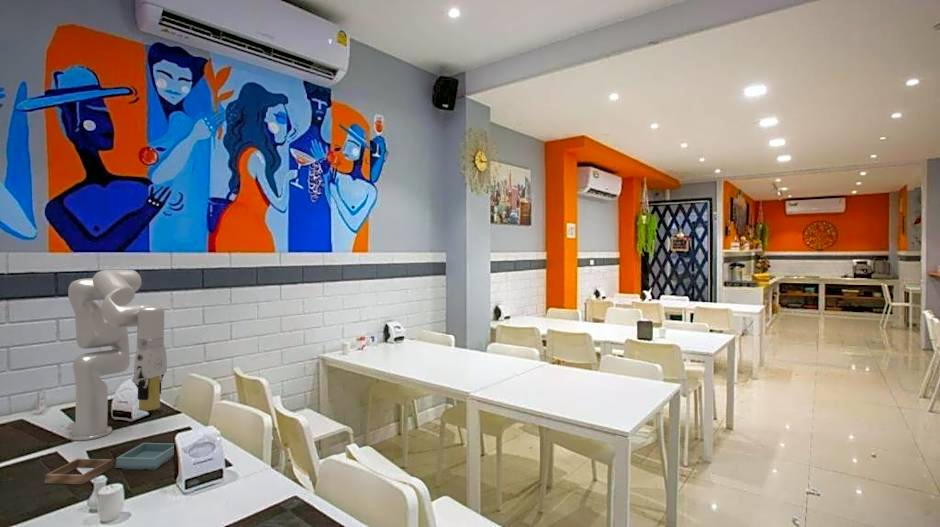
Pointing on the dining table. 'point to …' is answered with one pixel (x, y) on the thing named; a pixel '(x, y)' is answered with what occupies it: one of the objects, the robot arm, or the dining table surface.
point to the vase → (151, 395)
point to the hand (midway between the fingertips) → (149, 396)
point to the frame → (63, 478)
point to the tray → (146, 456)
